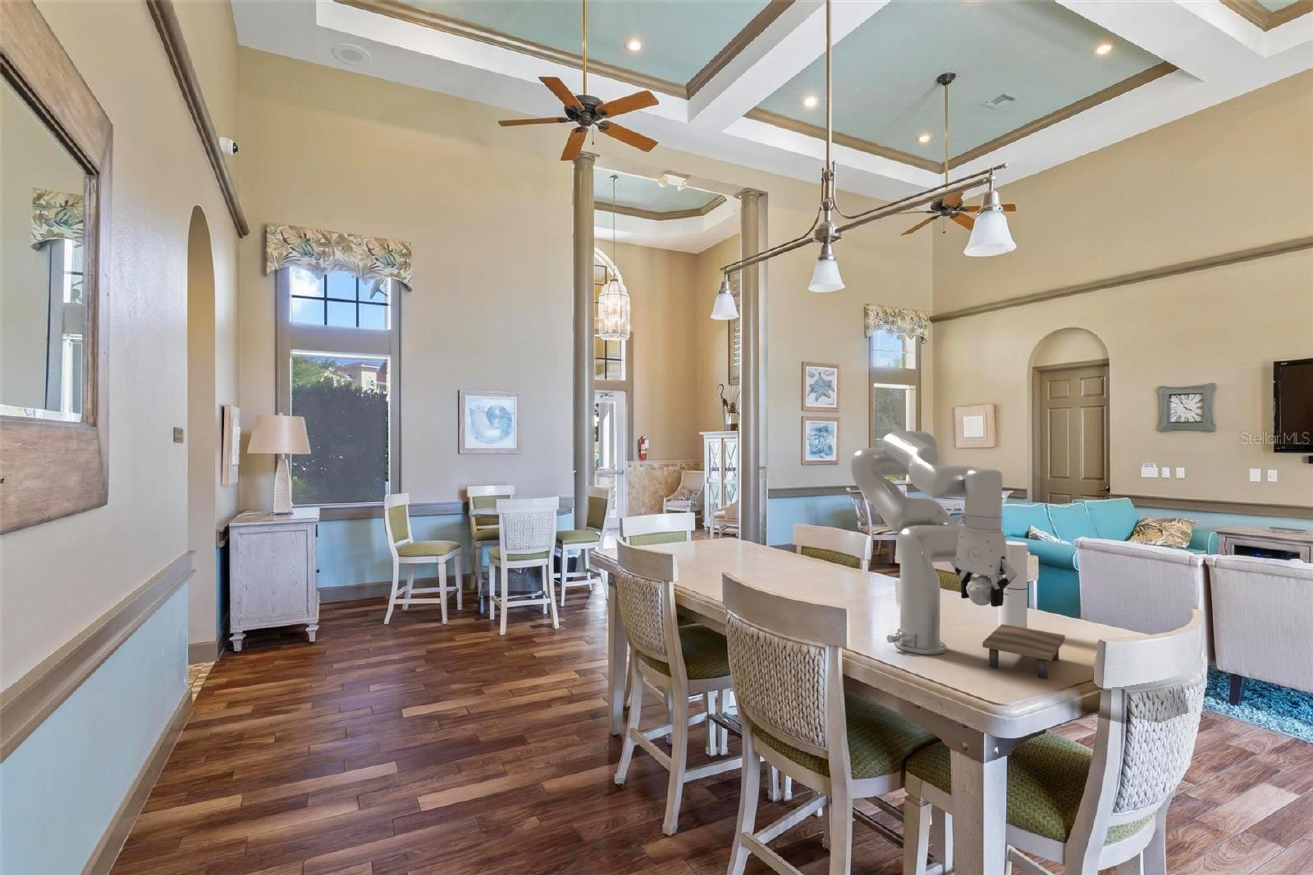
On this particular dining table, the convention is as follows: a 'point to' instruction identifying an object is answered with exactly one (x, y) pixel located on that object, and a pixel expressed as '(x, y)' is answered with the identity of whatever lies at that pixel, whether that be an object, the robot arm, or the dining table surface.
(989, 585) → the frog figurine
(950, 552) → the robot arm
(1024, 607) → the cylindrical container
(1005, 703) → the dining table surface
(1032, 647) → the walnut shelf
